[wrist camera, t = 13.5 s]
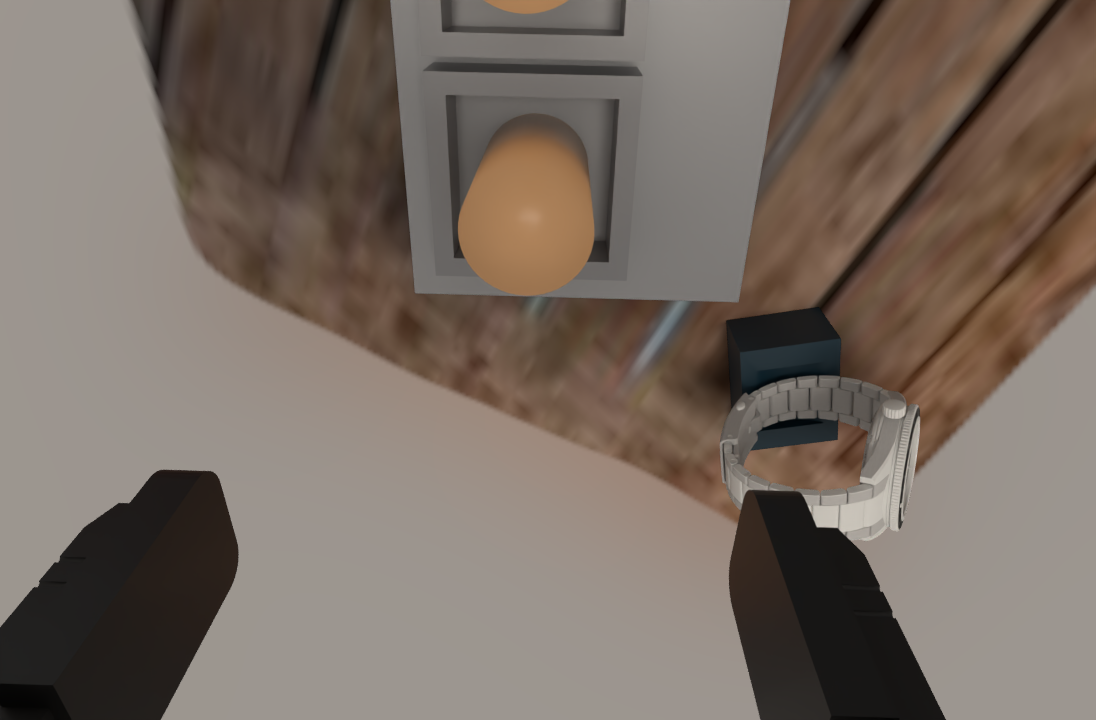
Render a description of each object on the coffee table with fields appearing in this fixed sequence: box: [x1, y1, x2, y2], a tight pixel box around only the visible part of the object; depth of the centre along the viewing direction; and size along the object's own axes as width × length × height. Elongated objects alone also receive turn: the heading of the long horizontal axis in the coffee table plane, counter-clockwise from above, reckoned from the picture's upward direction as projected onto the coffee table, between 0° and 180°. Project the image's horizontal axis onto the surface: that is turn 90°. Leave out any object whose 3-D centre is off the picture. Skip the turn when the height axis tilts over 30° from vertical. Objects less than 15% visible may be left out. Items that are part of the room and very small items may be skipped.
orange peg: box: [458, 113, 594, 296], centre depth 26 cm, size 4×4×8 cm
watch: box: [720, 307, 920, 541], centre depth 30 cm, size 6×8×11 cm
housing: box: [390, 0, 790, 302], centre depth 24 cm, size 19×15×9 cm
